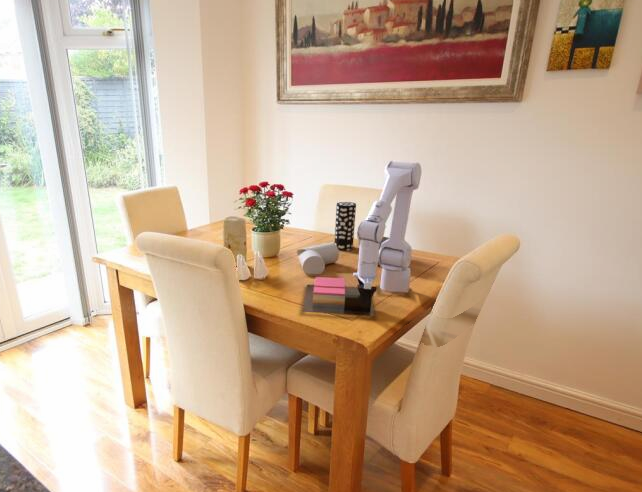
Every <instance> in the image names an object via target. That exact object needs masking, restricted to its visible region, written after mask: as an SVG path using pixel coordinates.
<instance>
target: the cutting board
mask: <svg viewBox="0 0 642 492" xmlns="http://www.w3.org/2000/svg"><path fill="white" fill-rule="evenodd" d="M314 285H315V284H307V285H306V289H305V294H304V300H303V304H302V310H301V311H302V312H304V313H319V314H320V313H321V314H335V315H336V314H337V315H349V316H350V315H351V316H367V317H375V312H374V304H373V300H372V301H371V311H370V312H365V311H349V310H344V309H339V308H323V307H313V292H314ZM345 294H348V295H360V293H359V291H358V288H357V286H346V285H345Z"/></svg>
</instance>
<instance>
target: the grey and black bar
mask: <svg viewBox="0 0 642 492" xmlns="http://www.w3.org/2000/svg"><path fill="white" fill-rule="evenodd" d="M371 301H372V302H373V298H372V299H371ZM313 307H323V308H339V309H344V310H349V311H365V312H370V311H371V302H370V305H369V307H368V308H367V307H361V299H360V295H348V294H345V300H338V299H320V298H313Z"/></svg>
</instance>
